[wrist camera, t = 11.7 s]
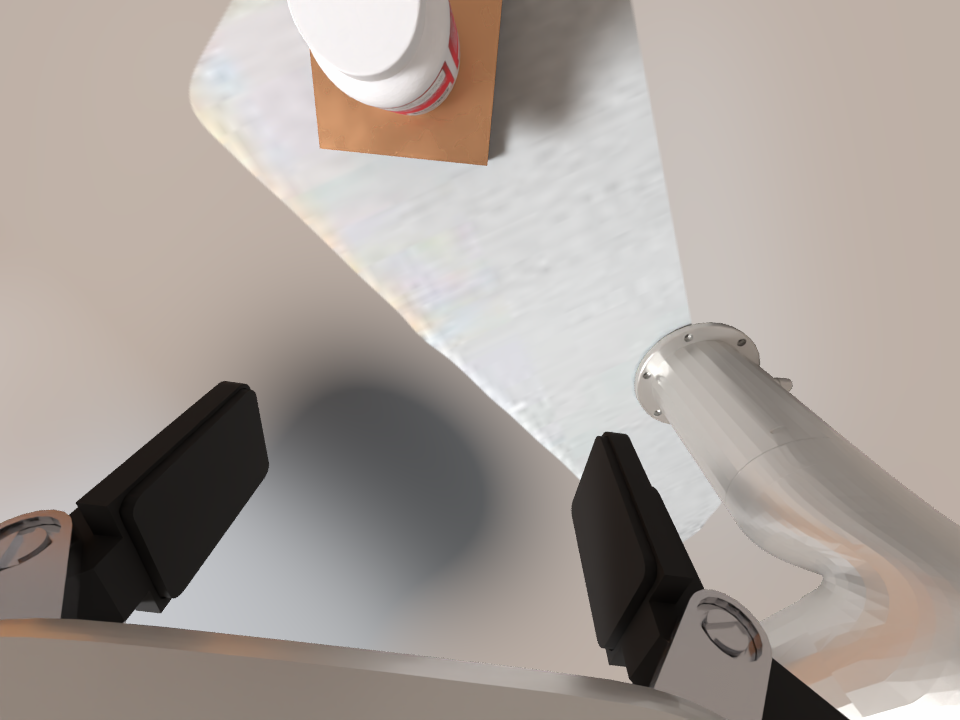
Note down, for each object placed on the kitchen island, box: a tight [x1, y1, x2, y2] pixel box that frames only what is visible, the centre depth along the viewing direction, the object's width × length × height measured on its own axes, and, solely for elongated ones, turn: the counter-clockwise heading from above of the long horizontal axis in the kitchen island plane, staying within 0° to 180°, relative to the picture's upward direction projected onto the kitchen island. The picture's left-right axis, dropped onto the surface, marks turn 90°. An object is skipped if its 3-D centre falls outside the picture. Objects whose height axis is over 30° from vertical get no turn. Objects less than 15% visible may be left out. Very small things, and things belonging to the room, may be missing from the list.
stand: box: [310, 0, 502, 166], centre depth 25 cm, size 11×11×7 cm
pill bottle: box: [287, 0, 460, 115], centre depth 18 cm, size 6×6×11 cm
